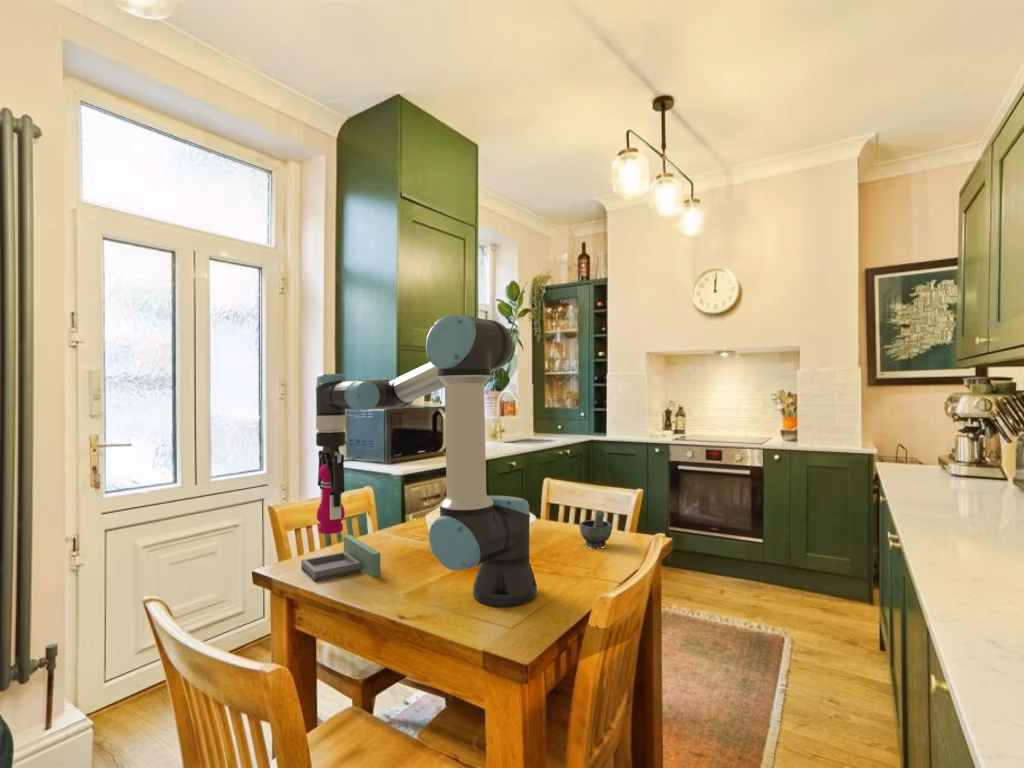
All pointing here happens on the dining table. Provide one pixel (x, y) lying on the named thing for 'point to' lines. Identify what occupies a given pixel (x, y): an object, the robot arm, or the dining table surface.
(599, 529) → the mortar and pestle
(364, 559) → the board
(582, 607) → the dining table surface
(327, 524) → the pepper mill
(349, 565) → the tray
